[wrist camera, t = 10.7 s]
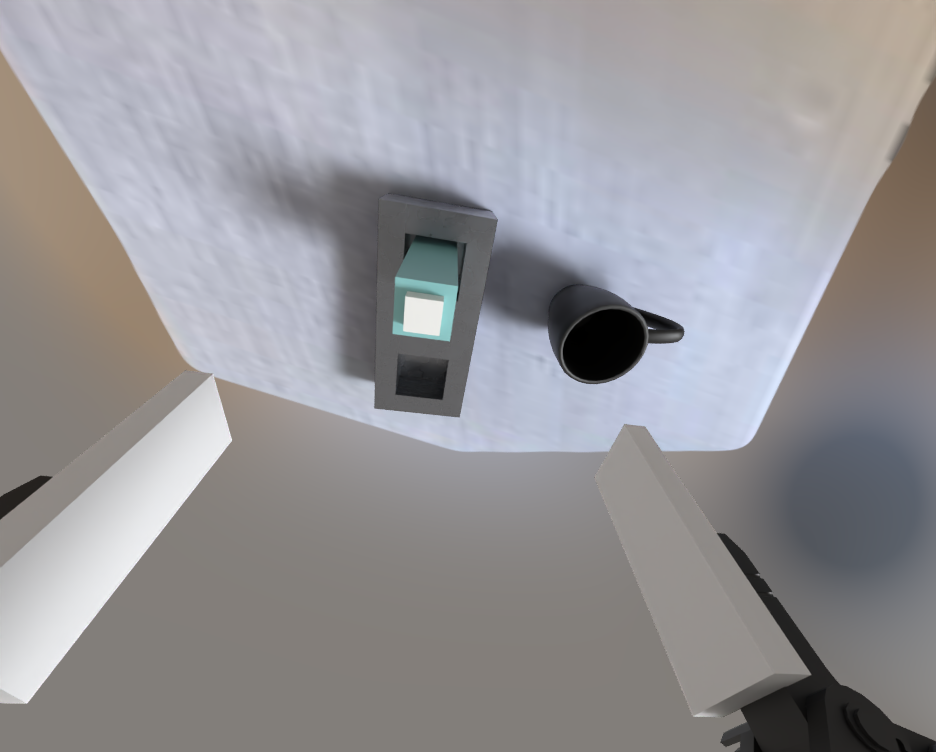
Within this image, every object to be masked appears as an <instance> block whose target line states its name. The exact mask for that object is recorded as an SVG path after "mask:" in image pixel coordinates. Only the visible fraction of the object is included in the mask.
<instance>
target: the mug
mask: <svg viewBox="0 0 936 752" xmlns="http://www.w3.org/2000/svg"><path fill="white" fill-rule="evenodd" d="M648 327H651V328H654V329H648ZM655 329H656V330H655ZM548 333H549V339H550V343H551V346H552V349H553V352H554V354H555V356H556V358H557V360H558V362H559V364H560V366H561V367H562V369H563V371H564V372H565V373H566V374H567V375H568V376H569V377H571V378H573V379H575V380H577V381H578V382H582V383H586V384H599V383H606V382H609V381H612V380H615V379H617V378H619V377H621V376H623V375H624V374H626V373H627V372H628V371H630V370H631V369H632V368H633V367H634V366H635V365H636V364H637V363H638V362H639V361H640V359H641V357H642V356H643V354H644V352H645V350H646V347H647V345H648V343H655V344H662V343H674V342H678V341H680V340H681V339H682V337H683V336H684V329H683V327H682V326H681V325H679V324H678V323H676V322H674V321H672V320H669V319H667V318H664V317H661V316H658V315H656V314H653V313H649V312H646V311H643V310H640V309H637V308H634V307H632V306H631V305H630V304H628V303H627V302H626V301H625V300H623V299H622V298H620V297H619V296H617V295H615V294H613V293H611V292H609V291H606V290H603V289H600V288H597V287H592V286H584V285H571V286H568V287H566V288H564V289H562V290H561V291H559V292H558V293H557V294H556V295H555V297H554V298H553V299H552V302H551V304H550V307H549V317H548Z"/></svg>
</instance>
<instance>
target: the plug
mask: <svg viewBox="0 0 936 752" xmlns="http://www.w3.org/2000/svg"><path fill="white" fill-rule="evenodd" d="M457 291H458V252H457V242H456V241H450V240H444V239H438V238H432V237H426V236H420V235H416V236H415V238H414V240H413V242H412V244H411V246H410V248H409V250H408V252H407V254H406V256H405V258H404V260H403V262H402V264H401V266H400V268H399V270H398V272H397V274H396V276H395V293H394V314H393V334H397V335H405V336H412V337H420V338H428V339H435V340H443V341H450V337H451V331H452V324H453V317H454V311H455V304H456V298H457Z"/></svg>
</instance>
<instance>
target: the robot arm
mask: <svg viewBox="0 0 936 752" xmlns="http://www.w3.org/2000/svg"><path fill="white" fill-rule="evenodd" d="M231 441H232V439H231V435H230V432H229V428H228V425H227V421H226V418H225V415H224V411H223V407H222V404H221V400H220V397H219V394H218V390H217V386H216V383H215V379H214V376H213V374H210V373H202V372H194V371H186V370H185V371H184V372H183V373H181V374H180V375H179V376H178V377H177V378H175V379H174V380H173V381H171V382H170V383H169V384H168V385H167V386H165V387H164V388H163V389H162V390H160V391H159V392H158V393H157V394H155V395H154V396H153V397H152V398H150V399H149V400H148V401H147V402H145V404H143V405H142V406H141V407H139V408H138V409H137V410H136V411H134V412H133V413H132V414H131V415H129V416H128V417H127V418H126V419H125V420H123V421H122V422H121V423H119V424H118V425H117V426H116V427H115V428H114V429H112V430H111V431H110V432H108V433H107V434H106V435H105V436H103V437H102V438H101V439H100V440H99V441H98V442H96V443H95V444H94V445H92V446H91V447H90V448H89V449H87V450H86V451H85V452H84V453H82V454H81V455H80V456H79V457H77V458H76V459H75V460H74V461H72V462H71V463H70V464H69V465H68V466H66V467H65V468H64V469H63V470H61V471H60V472H59V473H58V474H56V475H55V476H54V477H49V476H39V477H37V478H35V479H33V480H31V481H29V482H27V483H25V484H23V485H21V486H20V487H18V488H16V489H14V490H12V491H10V492H8V493H6V494H4V495H3V496H1V497H0V703H22V704H27V703H28V702H29V700H30V699H31V698H32V696H33V695H34V694H35V692H36V691H37V690H38V689H39V687H40V686H41V685H42V684H43V682H44V681H45V680H46V678H47V677H48V676H49V675H50V673H51V672H52V671H53V669H54V668H55V667H56V665H57V664H58V663H59V662H60V660H61V659H62V658H63V656H64V655H65V654H66V653H67V651H68V650H69V649H70V647H71V646H72V645H73V644H74V642H75V641H76V640H77V639H78V637H79V636H80V635H81V633H82V632H83V631H84V630H85V628H86V627H87V626H88V624H89V623H90V622H91V621H92V619H93V618H94V617H95V615H96V614H97V613H98V612H99V610H100V609H101V608H102V607H103V605H104V604H105V603H106V601H107V600H108V599H109V598H110V596H111V595H112V594H113V592H114V591H115V590H116V588H117V587H118V586H119V585H120V583H121V582H122V581H123V580H124V578H125V577H126V576H127V574H128V573H129V572H130V571H131V569H132V568H133V567H134V565H135V564H136V563H137V562H138V560H139V559H140V558H141V557H142V555H143V554H144V553H145V551H146V550H147V549H148V548H149V546H150V545H151V544H152V542H153V541H154V540H155V539H156V537H157V536H158V535H159V533H160V532H161V531H162V530H163V528H164V527H165V526H166V524H167V523H168V522H169V521H170V519H171V518H172V517H173V515H174V514H175V513H176V512H177V510H178V509H179V507H180V506H181V505H182V504H183V503H184V501H185V500H186V499H187V497H188V496H189V495H190V494H191V492H192V491H193V489H195V487H196V486H197V485H198V483H199V482H200V481H201V479H202V478H203V477H204V476H205V474H206V473H207V472H208V471H209V469H210V468H211V467H212V465H213V464H214V463H215V462H216V460H217V459H218V458H219V456H220V455H221V454H222V453H223V451H224V450H225V449H226V447H227V446H228V445H229V444H230V442H231ZM594 478H595V480H596V483H597V485H598V488H599V490H600V493H601V495H602V497H603V500H604V502H605V505H606V507H607V509H608V512H609V514H610V517H611V519H612V522H613V524H614V527H615V529H616V531H617V534H618V536H619V539H620V541H621V543H622V546H623V548H624V551H625V553H626V556H627V558H628V561H629V563H630V565H631V568H632V570H633V573H634V575H635V578H636V580H637V582H638V585H639V587H640V590H641V592H642V595H643V597H644V599H645V602H646V604H647V607H648V609H649V612H650V614H651V616H652V619H653V621H654V624H655V626H656V628H657V631H658V633H659V636H660V638H661V640H662V643H663V645H664V648H665V650H666V653H667V655H668V657H669V660H670V662H671V665H672V667H673V670H674V672H675V674H676V677H677V680H678V682H679V684H680V687H681V689H682V692H683V694H684V697H685V699H686V701H687V704H688V706H689V709H690V711H691V714H692V716H696V717H725V716H727V715H729V714H731V713H733V712H735V711H737V710H739V709H741V711H742V712H743V714H744V717H745V719H746V720H747V722H746V723H744V724H741V725H739V726H737V727H734V728H732V729H730V730H728V731H727V732H725V733H724V734H723V736H722V739H721V743H722V744H723V745H724V746H726V747H727V746H730V745H732V744H735V743H737V742H740V748H738V749H737V750H736V751H735V752H936V741H934V740H932V739H929V738H927V737H925V736H922V735H920V734H917V733H915V732H912V731H910V730H908V729H906V728H903V727H901V726H899V725H896V724H894V723H892V722H891V721H890V719H889V718H888V717H887V716H886V715H885V714H884V713H883V712H882V711H881V710H880V709H879V708H878V707H877V706H875V705H874V704H873V703H872V702H871V701H869V700H868V699H867V698H866V697H864V696H863V695H862V694H860V693H858V692H856V691H854V690H852V689H851V688H849V687H847V686H843V685H840V684H839V683H838V682H837V681H836V680H835V678H834V677H833V676H832V675H831V673H830V672H829V671H828V669H827V668H826V667H825V665H824V664H823V663H822V661H821V660H820V658H819V657H818V656H817V654H816V653H815V651H814V650H813V648H812V647H811V646H810V644H809V643H808V641H807V640H806V639H805V637H804V636H803V634H802V633H801V632H800V630H799V629H798V627H797V626H796V624H795V623H794V622H793V620H792V619H791V617H790V616H789V615H788V613H787V612H786V610H785V609H784V607H783V606H782V605H781V603H780V602H779V600H778V599H777V598H776V597H774V596H773V594H772V593H773V592H772V591H771V589H770V588H769V586H768V585H767V583H766V582H765V581H764V579H761V578H760V574H759V572H758V571H757V569H756V568H755V567H754V565H753V564H752V562H751V561H750V560H749V558H748V557H747V555H746V554H745V553H744V552H743V551H742V550H741V549H740V548H739V547H738V546H737V545H736V544H735V543H734V542H733V541H732V540H731V539H730V538H729V537H728V536H727V535H726V534H721V533H716V532H715V530H714V529H713V527H712V526H711V524H710V523H709V521H708V520H707V518H706V517H705V515H704V514H703V512H702V511H701V509H700V508H699V507H698V505H697V503H696V502H695V500H694V499H693V497H692V496H691V494H690V493H689V491H688V490H687V488H686V487H685V485H684V484H683V482H682V481H681V480H680V478H679V476H678V475H677V473H676V472H675V470H674V469H673V468H672V466H671V464H670V463H669V461H668V460H667V458H666V457H665V456H664V454H663V453H662V451H661V450H660V448H659V447H658V445H657V444H656V442H655V441H654V439H653V438H652V436H651V435H650V433H649V432H648V430H647V429H646V427H644V426H635V425H627V424H624V426H623V427H622V429H621V431H620V433H619V435H618V436H617V438H616V440H615V442H614V443H613V445H612V447H611V449H610V451H609V452H608V454H607V456H606V458H605V460H604V461H603V463H602V465H601V467H600V468H599V470H598V472H597V474H596V476H595V477H594Z"/></svg>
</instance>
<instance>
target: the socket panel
mask: <svg viewBox="0 0 936 752" xmlns="http://www.w3.org/2000/svg"><path fill="white" fill-rule="evenodd" d="M497 221H498V219H497V218H496V216H495V215H494V213H493V212H492V211H486V210H481V209H475V208H470V207H464V206H458V205H453V204H447V203H441V202H436V201H430V200H425V199H419V198H413V197H408V196H402V195H396V194H391V193H388V194H386V195H384V196H383V197H381V198H379V201H378V252H377V303H376V355H375V406H374V408H376V409H385V410H394V411H404V412H413V413H423V414H432V415H441V416H451V417H460V412H461V407H462V402H463V397H464V392H465V386H466V381H467V376H468V371H469V366H470V361H471V355H472V350H473V345H474V340H475V335H476V330H477V324H478V319H479V314H480V309H481V304H482V299H483V293H484V288H485V283H486V278H487V273H488V268H489V262H490V257H491V252H492V247H493V242H494V236H495V231H496V226H497ZM416 235H420V236H426V237H432V238H438V239H444V240H450V241H456V242H457V252H458V291H457V298H456V304H455V311H454V317H453V324H452V331H451V337H450V341H443V340H435V339H428V338H420V337H412V336H405V335H397V334H393V314H394V293H395V276H396V274H397V272H398V270H399V268H400V266H401V264H402V262H403V260H404V258H405V256H406V254H407V252H408V250H409V248H410V246H411V244H412V242H413V240H414V238H415V236H416Z"/></svg>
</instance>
